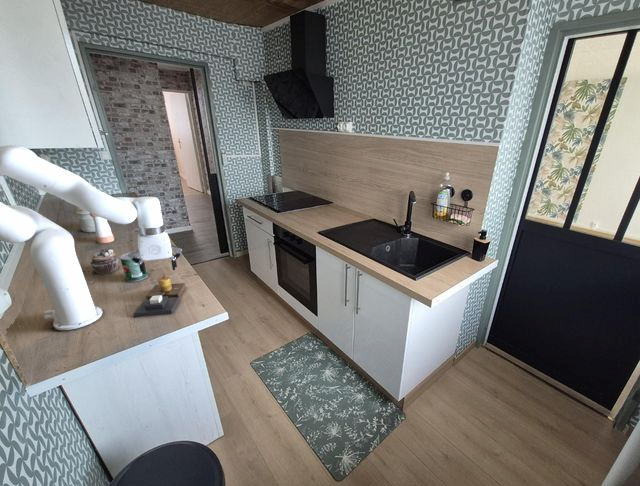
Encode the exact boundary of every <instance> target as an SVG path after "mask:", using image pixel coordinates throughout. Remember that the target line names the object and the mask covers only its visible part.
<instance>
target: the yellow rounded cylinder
mask: <svg viewBox="0 0 640 486" xmlns="http://www.w3.org/2000/svg"><path fill="white" fill-rule="evenodd" d="M157 281H158V285H159V286H160V290H161V291H162V292H167V291H170V290H171V289H172V285H171V284H172V281H171V277H170V276H169V275H163V276H161V277H159V278H158V279H157Z"/></svg>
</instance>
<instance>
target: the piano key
mask: <svg viewBox="0 0 640 486" xmlns="http://www.w3.org/2000/svg"><path fill="white" fill-rule="evenodd" d="M149 301H150V304H154V303H160V302H161V301H162V295H158V296H152V297H151V299H150V300H149Z"/></svg>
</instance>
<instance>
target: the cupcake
mask: <svg viewBox="0 0 640 486" xmlns="http://www.w3.org/2000/svg"><path fill="white" fill-rule="evenodd" d="M118 262H119V259H118V255H117V253H116V252H114V249H112V248H100V249H98V250H96V252H95V253H94V255H93V256H92V258H91V261H90V265H91V267H92V268H93V270H94V272H95V273H96V274H99V275H104V274H109V273H113V272H115V271H116V270H118V267H119V265H118V264H119V263H118Z"/></svg>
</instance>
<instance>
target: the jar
mask: <svg viewBox="0 0 640 486" xmlns="http://www.w3.org/2000/svg"><path fill="white" fill-rule="evenodd" d="M75 214H77V219H78V222H79V224H80V229H81V231H82V232H84V233H96V232H95V224H94V221H93V217H92V216H90V214H89V212H87V211H85V210H83V209H81V208H79V207H77V206H76V211H75ZM107 223H108V224H109V222H108V221H107Z"/></svg>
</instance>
